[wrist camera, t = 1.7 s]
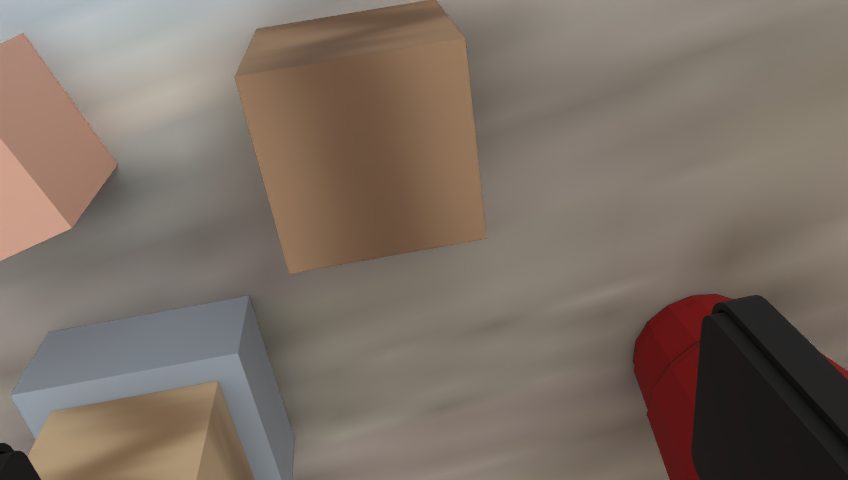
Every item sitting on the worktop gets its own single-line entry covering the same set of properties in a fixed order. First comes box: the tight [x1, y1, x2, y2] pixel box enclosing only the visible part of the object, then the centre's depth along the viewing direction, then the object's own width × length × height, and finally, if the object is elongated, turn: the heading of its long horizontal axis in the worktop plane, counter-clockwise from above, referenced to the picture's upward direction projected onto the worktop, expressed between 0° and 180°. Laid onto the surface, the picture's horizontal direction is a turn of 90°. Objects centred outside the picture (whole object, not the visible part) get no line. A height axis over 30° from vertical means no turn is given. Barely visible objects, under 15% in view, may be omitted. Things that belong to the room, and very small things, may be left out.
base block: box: [10, 296, 295, 480], centre depth 28 cm, size 8×8×4 cm
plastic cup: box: [633, 294, 848, 480], centre depth 26 cm, size 11×11×12 cm
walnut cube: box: [235, 0, 486, 274], centre depth 22 cm, size 6×6×6 cm
